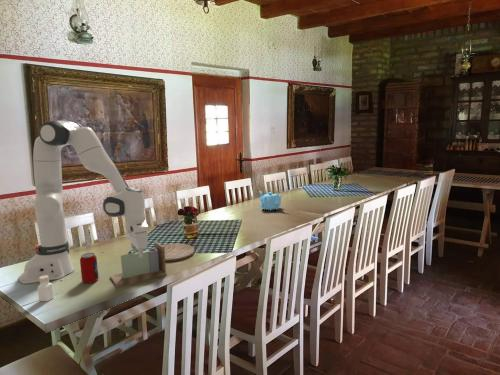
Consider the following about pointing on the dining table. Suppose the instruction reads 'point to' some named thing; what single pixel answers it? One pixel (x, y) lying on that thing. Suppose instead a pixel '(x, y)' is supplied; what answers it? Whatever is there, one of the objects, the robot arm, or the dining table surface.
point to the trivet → (177, 252)
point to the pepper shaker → (45, 289)
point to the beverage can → (89, 267)
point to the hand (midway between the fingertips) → (137, 254)
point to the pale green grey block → (140, 263)
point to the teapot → (270, 201)
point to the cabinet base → (121, 281)
